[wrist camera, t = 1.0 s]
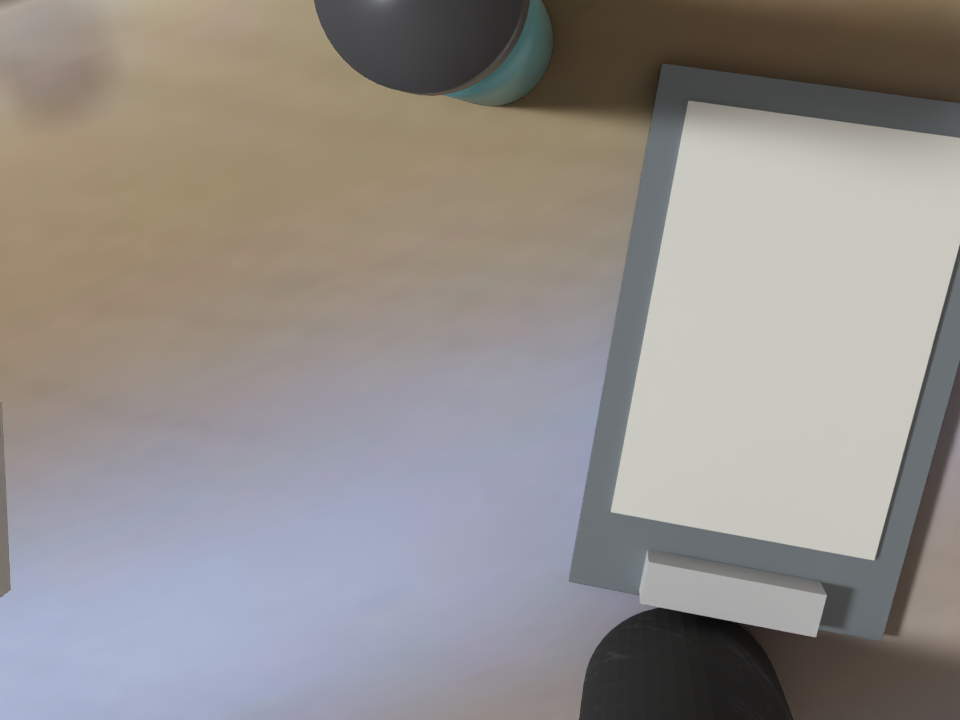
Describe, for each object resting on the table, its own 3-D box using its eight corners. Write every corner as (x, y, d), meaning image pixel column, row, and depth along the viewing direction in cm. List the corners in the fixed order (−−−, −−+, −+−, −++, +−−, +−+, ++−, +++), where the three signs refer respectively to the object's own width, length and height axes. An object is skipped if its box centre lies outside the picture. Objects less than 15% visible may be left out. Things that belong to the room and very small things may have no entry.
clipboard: (661, 65, 29) (663, 60, 28) (1020, 112, 28) (1044, 111, 27) (569, 574, 34) (567, 594, 32) (876, 632, 33) (889, 657, 31)
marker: (435, -37, 29) (322, -152, 18) (567, -20, 29) (539, -127, 17) (419, 101, 31) (302, 77, 19) (546, 119, 30) (507, 106, 19)
